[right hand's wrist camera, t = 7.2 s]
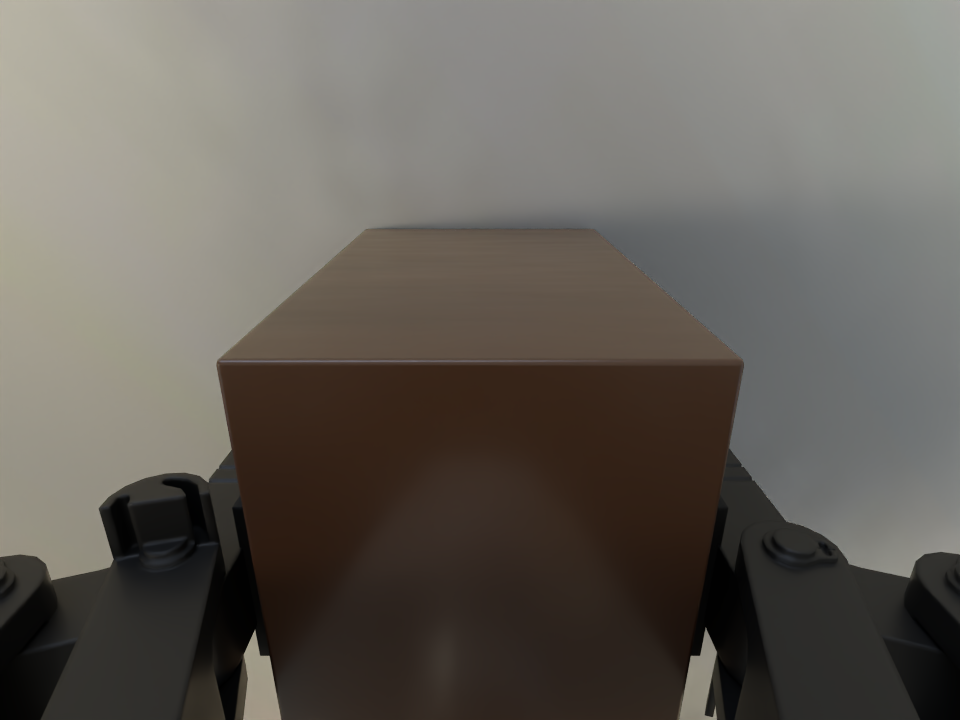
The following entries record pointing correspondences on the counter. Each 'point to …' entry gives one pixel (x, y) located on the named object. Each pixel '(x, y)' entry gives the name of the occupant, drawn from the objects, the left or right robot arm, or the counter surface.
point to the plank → (480, 479)
